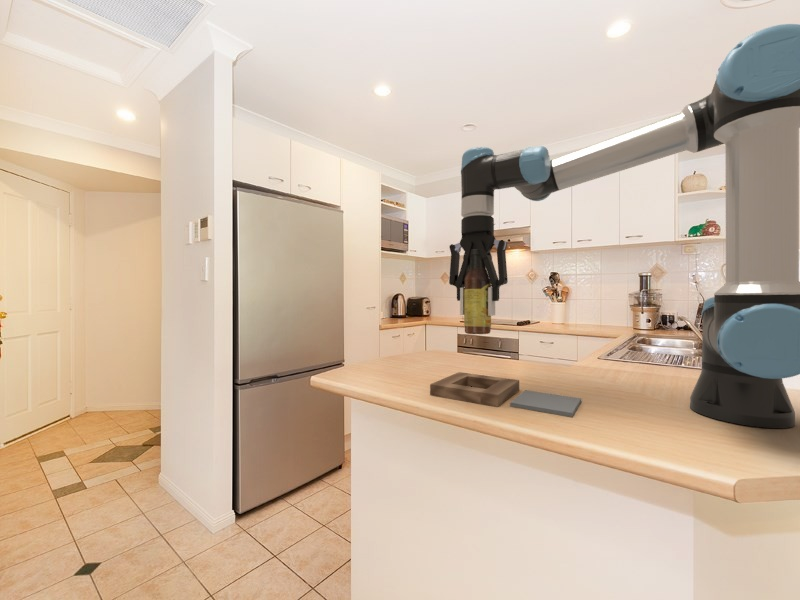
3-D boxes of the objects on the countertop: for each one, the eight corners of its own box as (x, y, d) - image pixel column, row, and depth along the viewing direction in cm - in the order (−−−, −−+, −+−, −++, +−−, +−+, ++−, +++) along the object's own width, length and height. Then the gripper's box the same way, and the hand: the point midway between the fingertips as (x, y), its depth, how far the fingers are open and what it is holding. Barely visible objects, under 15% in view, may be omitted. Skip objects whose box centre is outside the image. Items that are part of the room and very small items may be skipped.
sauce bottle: (492, 335, 84) (492, 247, 83) (464, 335, 85) (464, 248, 84) (489, 332, 90) (490, 251, 90) (463, 332, 91) (464, 251, 91)
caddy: (519, 390, 90) (519, 380, 90) (497, 407, 77) (497, 395, 77) (458, 381, 99) (459, 372, 99) (430, 394, 86) (430, 384, 86)
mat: (581, 401, 81) (581, 398, 81) (572, 417, 71) (572, 413, 71) (525, 393, 87) (525, 390, 87) (510, 406, 77) (510, 402, 77)
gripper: (523, 215, 85) (523, 315, 85) (447, 224, 96) (447, 313, 96) (513, 208, 79) (513, 317, 79) (433, 219, 89) (434, 314, 90)
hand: (477, 314), depth 87 cm, fingers closed on sauce bottle, 6 cm apart
